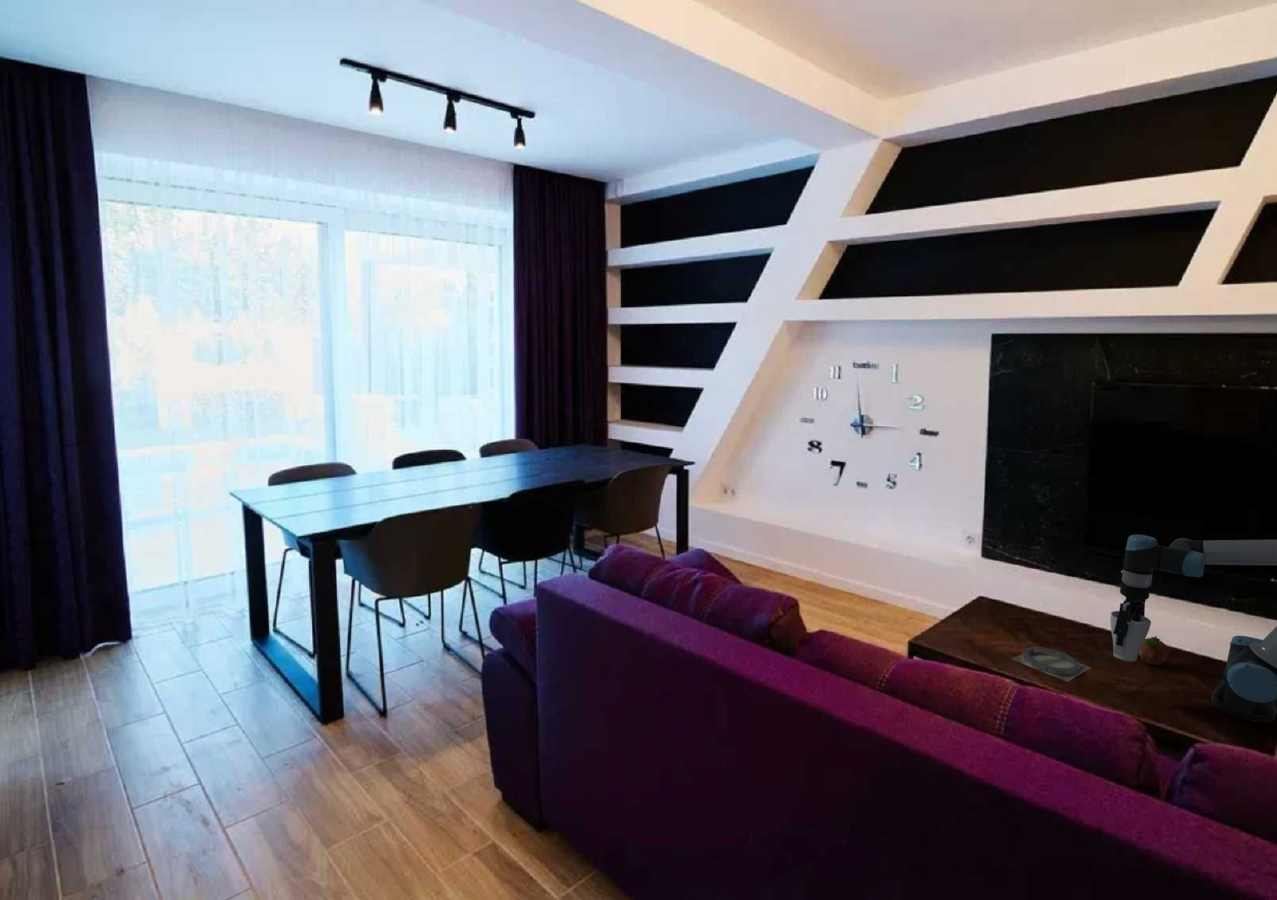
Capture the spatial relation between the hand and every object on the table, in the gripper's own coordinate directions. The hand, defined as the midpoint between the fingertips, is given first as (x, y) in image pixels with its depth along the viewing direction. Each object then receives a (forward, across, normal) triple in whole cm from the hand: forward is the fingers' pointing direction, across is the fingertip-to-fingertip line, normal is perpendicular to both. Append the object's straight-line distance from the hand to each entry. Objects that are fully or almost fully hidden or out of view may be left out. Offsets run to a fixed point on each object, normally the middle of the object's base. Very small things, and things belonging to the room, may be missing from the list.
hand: (1125, 650), depth 219 cm
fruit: (+14, -32, -2) cm, 35 cm away
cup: (+3, 0, 0) cm, 3 cm away
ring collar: (+12, +3, -20) cm, 23 cm away
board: (+13, +3, -20) cm, 24 cm away
